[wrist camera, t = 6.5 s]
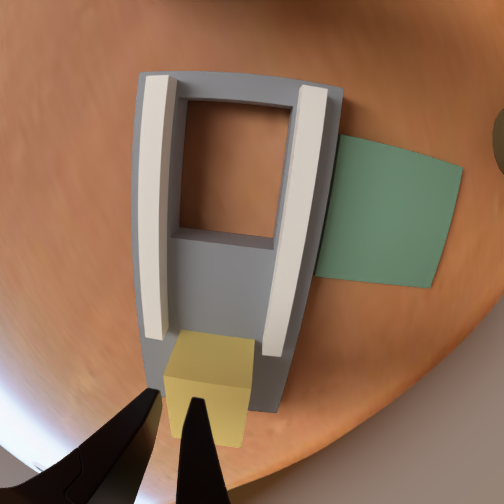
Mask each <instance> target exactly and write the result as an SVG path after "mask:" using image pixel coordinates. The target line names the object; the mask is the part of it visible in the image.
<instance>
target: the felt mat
mask: <svg viewBox="0 0 504 504" xmlns="http://www.w3.org/2000/svg"><path fill="white" fill-rule="evenodd" d="M462 171H463V167H460V166H457V165H454V164H451V163H448V162H445V161H442V160H439V159H436V158H433V157H429V156H426V155H423V154H419V153H416V152H413V151H409V150H405V149H402V148H398V147H394V146H390V145H386V144H382V143H378V142H374V141H370V140H366V139H361V138H357V137H352V136H347V135H342V134H339V135H338V142H337V148H336V155H335V162H334V168H333V174H332V180H331V186H330V192H329V198H328V203H327V209H326V214H325V220H324V225H323V230H322V235H321V240H320V245H319V250H318V255H317V260H316V264H315V269H314V275H315V276H316V277H325V278H334V279H343V280H352V281H362V282H371V283H381V284H391V285H400V286H410V287H421V288H430V286H431V284H432V281H433V278H434V275H435V272H436V270H437V267H438V264H439V261H440V258H441V254H442V251H443V248H444V245H445V241H446V238H447V234H448V231H449V227H450V224H451V220H452V216H453V212H454V208H455V204H456V200H457V195H458V191H459V186H460V181H461V176H462Z"/></svg>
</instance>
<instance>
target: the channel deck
mask: <svg viewBox="0 0 504 504" xmlns="http://www.w3.org/2000/svg"><path fill="white" fill-rule="evenodd" d="M343 90H344V88H340V87H335V86H330V85H325V84H320V83H315V82H309V81H303V80H297V79H290V78H283V77H275V76H266V75H257V74H246V73H232V72H213V71H158V72H139V80H138V88H137V97H136V107H135V118H134V131H133V148H132V173H131V229H132V255H133V272H134V286H135V297H136V308H137V317H138V326H139V334H140V342H141V349H142V356H143V362H144V369H145V375H146V381H147V386H148V388H154V389H158V390H160V392H161V397H165V398H166V394H165V386H164V378H163V375H164V372H165V369H166V367H167V364H168V362H169V359H170V357H171V354H172V351H173V349H174V346H175V344H176V341H177V339H178V336H179V334H180V331H181V329H183V330H189V331H195V332H202V333H208V334H215V335H222V336H230V337H238V338H246V339H255V344H254V359H253V373H252V387H251V394H250V400H249V405H248V410H249V411H259V412H271V413H277V411H278V408H279V404H280V401H281V398H282V394H283V391H284V387H285V384H286V380H287V376H288V373H289V369H290V365H291V362H292V358H293V354H294V350H295V347H296V343H297V339H298V335H299V331H300V327H301V323H302V319H303V315H304V310H305V306H306V302H307V298H308V293H309V289H310V284H311V280H312V275H313V271H314V266H315V261H316V257H317V252H318V247H319V242H320V237H321V232H322V227H323V221H324V216H325V211H326V205H327V200H328V194H329V188H330V182H331V176H332V170H333V164H334V157H335V151H336V144H337V137H338V130H339V122H340V115H341V107H342V99H343ZM188 100H190V101H214V102H229V103H241V104H252V105H261V106H270V107H278V108H285V109H290V117H289V125H288V133H287V141H286V148H285V156H284V163H283V171H282V178H281V186H280V193H279V200H278V207H277V214H276V221H275V228H274V235H273V238H267V237H259V236H251V235H243V234H235V233H226V232H218V231H209V230H200V229H192V228H183V227H179V223H180V199H181V180H182V165H183V151H184V139H185V128H186V117H187V108H188Z"/></svg>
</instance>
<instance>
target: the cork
mask: <svg viewBox="0 0 504 504" xmlns="http://www.w3.org/2000/svg"><path fill="white" fill-rule="evenodd" d="M493 149H494V155H495V159H496V161H497V164H498V166H499V169H500V170H501V171H502V173H503V174H504V109H503V110H502V111H501V112H500V113H499V114H498V116H497V118H496V120H495V124H494V129H493Z"/></svg>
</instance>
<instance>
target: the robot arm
mask: <svg viewBox="0 0 504 504" xmlns="http://www.w3.org/2000/svg"><path fill="white" fill-rule="evenodd" d="M161 412H162V398H161V392H160V390H158V389H154V388H147V389H145V390H144V391H143V392H142V393H141V394H140V395H139V396H137V397H136V398H135V399H134V400H133V401H132V402H130V403H129V404H128V405H127V406H126V407H125V408H123V409H122V410H121V411H120V412H119V413H118V414H116V415H115V416H114V417H113V418H112V419H111V420H109V421H108V422H107V423H106V424H105V425H103V426H102V427H101V428H100V429H99V430H98V431H96V432H95V433H94V434H93V435H92V436H90V437H89V438H88V439H87V440H86V441H84V442H83V443H82V444H81V445H79V446H78V448H76V449H74V450H73V451H72V452H71V453H70V454H68V455H67V456H66V457H64V458H63V459H62V460H60V461H59V462H57V463H56V464H54V465H53V466H51V467H50V468H48V469H46V470H45V471H43V472H41V473H39V474H38V475H36V476H34V477H33V478H31V479H29V480H27V481H25V482H24V483H22V484H19V485H17V486H13V487H8V488H0V504H134V502H135V499H136V496H137V493H138V490H139V487H140V484H141V482H142V479H143V476H144V473H145V470H146V468H147V465H148V462H149V459H150V457H151V454H152V451H153V448H154V444H155V439H156V435H157V430H158V426H159V421H160V417H161ZM176 504H231V503H230V500H229V496H228V493H227V489H226V487H225V482H224V479H223V475H222V471H221V467H220V463H219V459H218V455H217V451H216V447H215V443H214V439H213V435H212V430H211V426H210V421H209V417H208V412H207V408H206V403H205V399H204V398H199V397H192V398H191V401H190V404H189V407H188V410H187V414H186V417H185V420H184V423H183V427H182V434H181V444H180V455H179V467H178V479H177V492H176Z"/></svg>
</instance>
